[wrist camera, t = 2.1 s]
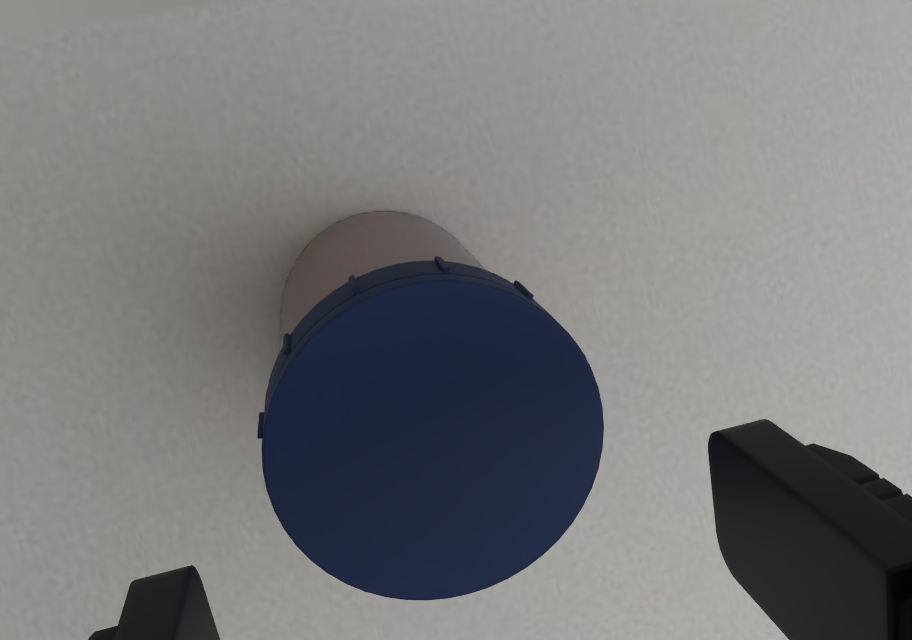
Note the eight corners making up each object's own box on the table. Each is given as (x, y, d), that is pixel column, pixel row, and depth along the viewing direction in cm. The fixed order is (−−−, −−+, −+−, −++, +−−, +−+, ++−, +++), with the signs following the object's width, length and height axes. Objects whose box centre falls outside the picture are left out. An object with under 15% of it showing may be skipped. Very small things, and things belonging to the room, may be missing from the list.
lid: (552, 228, 16) (580, 245, 14) (595, 511, 18) (624, 553, 16) (227, 300, 15) (220, 326, 14) (305, 587, 17) (307, 639, 15)
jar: (465, 191, 23) (558, 254, 15) (500, 382, 24) (599, 529, 16) (257, 235, 22) (241, 326, 14) (307, 428, 24) (316, 604, 16)
